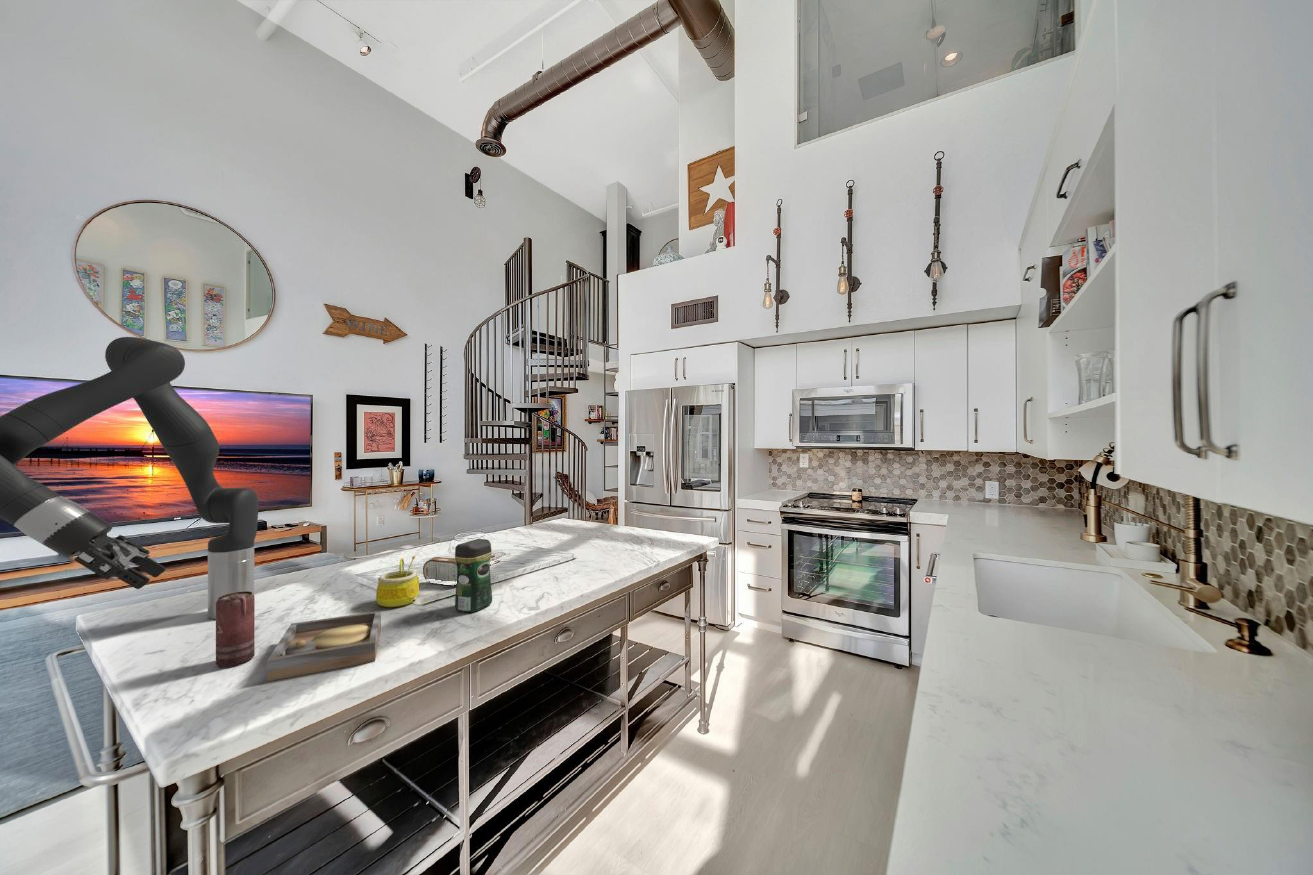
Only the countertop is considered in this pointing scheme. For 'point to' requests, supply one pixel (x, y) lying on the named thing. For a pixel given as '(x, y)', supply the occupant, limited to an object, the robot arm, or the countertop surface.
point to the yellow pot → (397, 587)
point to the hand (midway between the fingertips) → (153, 578)
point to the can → (235, 629)
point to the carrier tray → (325, 645)
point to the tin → (440, 569)
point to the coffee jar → (473, 575)
